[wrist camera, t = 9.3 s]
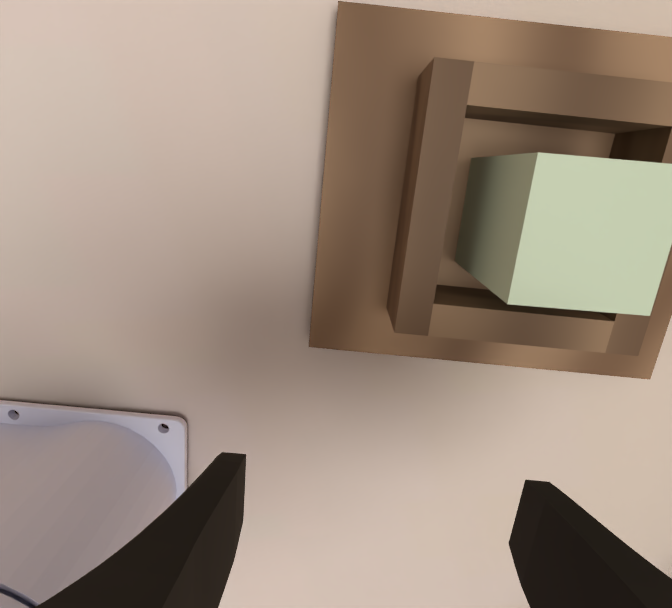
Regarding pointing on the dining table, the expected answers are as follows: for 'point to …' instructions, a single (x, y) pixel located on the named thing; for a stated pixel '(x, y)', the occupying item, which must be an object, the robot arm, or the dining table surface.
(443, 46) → the well stand
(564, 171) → the block
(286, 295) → the dining table surface
